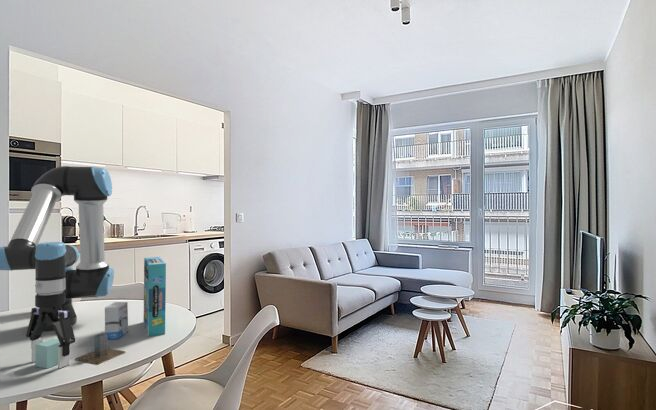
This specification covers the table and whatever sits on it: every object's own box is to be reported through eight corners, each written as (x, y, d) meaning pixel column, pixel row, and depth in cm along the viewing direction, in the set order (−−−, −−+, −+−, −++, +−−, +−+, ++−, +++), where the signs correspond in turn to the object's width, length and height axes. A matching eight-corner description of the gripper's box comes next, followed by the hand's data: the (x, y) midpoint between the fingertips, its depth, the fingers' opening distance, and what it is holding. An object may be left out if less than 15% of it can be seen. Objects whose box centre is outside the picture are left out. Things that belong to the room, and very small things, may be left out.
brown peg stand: (75, 359, 120) (75, 337, 120) (103, 348, 129) (103, 328, 129) (97, 364, 116) (98, 341, 116) (125, 352, 126) (125, 331, 126)
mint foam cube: (35, 365, 115) (35, 344, 115) (53, 359, 120) (53, 338, 120) (47, 368, 113) (47, 346, 113) (64, 361, 118) (64, 340, 118)
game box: (142, 322, 158) (143, 257, 158) (159, 319, 162) (159, 256, 162) (147, 337, 141) (147, 264, 141) (165, 334, 144) (166, 263, 144)
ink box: (118, 339, 138) (118, 307, 138) (103, 339, 138) (103, 307, 138) (128, 331, 146) (128, 301, 146) (114, 332, 146) (115, 301, 146)
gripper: (11, 291, 117) (11, 362, 117) (65, 298, 109) (64, 374, 109) (37, 287, 124) (37, 353, 124) (89, 293, 116) (89, 364, 116)
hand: (50, 363), depth 117 cm, fingers open, 11 cm apart
